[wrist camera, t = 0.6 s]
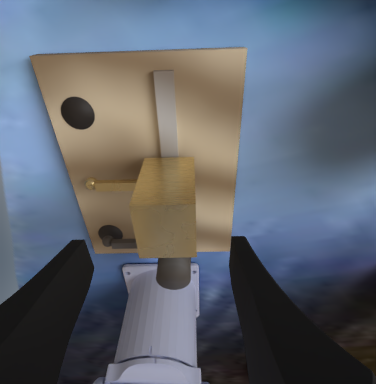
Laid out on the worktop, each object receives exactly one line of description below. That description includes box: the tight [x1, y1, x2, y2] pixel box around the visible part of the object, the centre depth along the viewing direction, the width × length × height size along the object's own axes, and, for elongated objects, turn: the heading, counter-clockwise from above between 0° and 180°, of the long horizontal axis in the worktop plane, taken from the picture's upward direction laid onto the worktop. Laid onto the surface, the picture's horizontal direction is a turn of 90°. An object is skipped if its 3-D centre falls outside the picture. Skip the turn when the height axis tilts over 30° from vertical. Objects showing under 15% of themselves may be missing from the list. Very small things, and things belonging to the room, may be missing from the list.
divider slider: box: [85, 157, 197, 258], centre depth 17 cm, size 4×8×6 cm, turn 92°
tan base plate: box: [30, 47, 247, 290], centre depth 18 cm, size 17×13×6 cm
